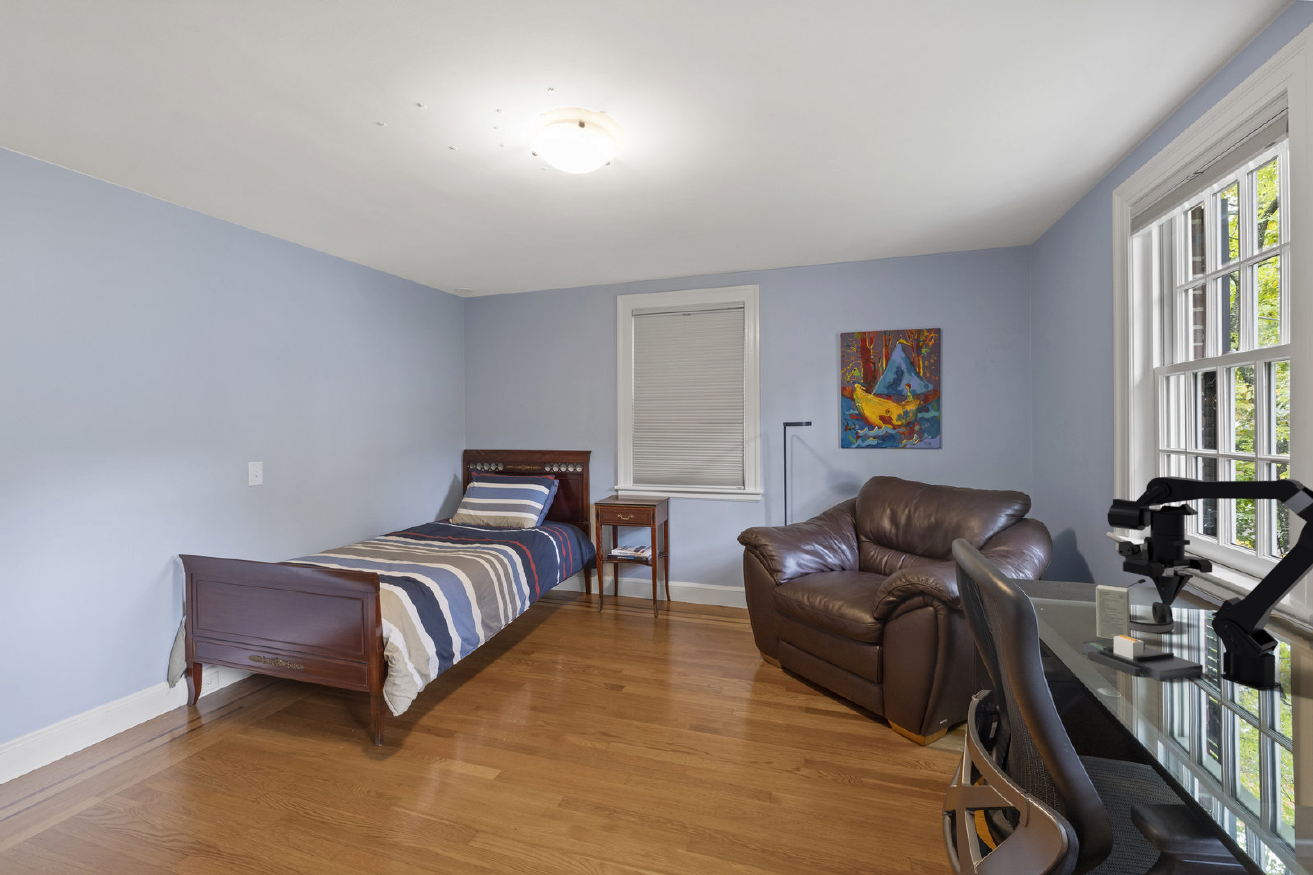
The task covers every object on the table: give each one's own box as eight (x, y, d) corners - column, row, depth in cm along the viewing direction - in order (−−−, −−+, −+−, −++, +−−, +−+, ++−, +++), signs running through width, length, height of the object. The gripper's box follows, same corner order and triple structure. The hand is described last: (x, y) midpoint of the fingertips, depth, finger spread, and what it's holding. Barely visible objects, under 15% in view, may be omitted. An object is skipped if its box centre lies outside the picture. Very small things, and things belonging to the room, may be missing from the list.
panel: (1202, 674, 120) (1202, 661, 120) (1159, 680, 117) (1159, 666, 117) (1122, 647, 136) (1122, 635, 136) (1082, 652, 133) (1082, 640, 133)
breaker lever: (1143, 658, 124) (1143, 640, 124) (1132, 659, 123) (1133, 641, 123) (1124, 651, 128) (1124, 633, 128) (1113, 652, 127) (1113, 635, 127)
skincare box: (1130, 638, 142) (1130, 588, 142) (1128, 643, 139) (1128, 591, 139) (1097, 632, 147) (1097, 583, 147) (1095, 636, 144) (1095, 587, 144)
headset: (1169, 581, 159) (1176, 606, 143) (1169, 615, 160) (1176, 644, 144) (1107, 574, 167) (1107, 597, 151) (1106, 606, 168) (1106, 632, 152)
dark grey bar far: (1122, 646, 137) (1122, 640, 137) (1089, 650, 134) (1089, 644, 134) (1116, 644, 138) (1116, 638, 138) (1083, 648, 136) (1083, 642, 136)
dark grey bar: (1140, 675, 120) (1140, 668, 120) (1135, 676, 120) (1135, 669, 120) (1092, 657, 130) (1092, 651, 130) (1087, 658, 129) (1087, 652, 129)
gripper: (1158, 527, 139) (1158, 592, 139) (1098, 529, 134) (1098, 598, 134) (1214, 534, 128) (1213, 606, 128) (1150, 537, 123) (1150, 612, 123)
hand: (1167, 605), depth 129 cm, fingers closed
